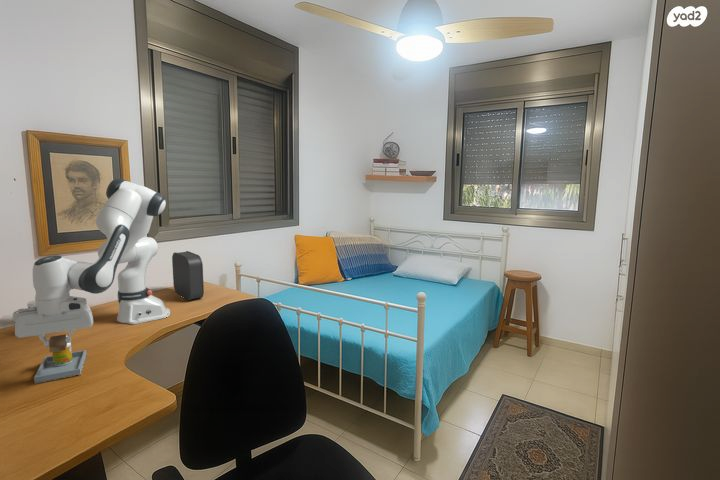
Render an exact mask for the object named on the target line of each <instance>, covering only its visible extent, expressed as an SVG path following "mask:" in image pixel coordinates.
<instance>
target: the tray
mask: <svg viewBox="0 0 720 480" xmlns="http://www.w3.org/2000/svg"><path fill="white" fill-rule="evenodd" d="M86 359H87V350H86V349H84V350H78V351H72V362H71V363H69V364H66V365H63V366H55V365H54V363H53V355H48V356H45V357H44V358H43V360H42V361H41V363H40V365H39V368H38V369H37V372H36V373H35V375H34V377H33V380H34V384H35V383H39V384H41V383H40V382H44V381H50V380H55V379H60V378H64V377H69V376H74V375H79V374H81V375H82V372H83V369H84V366H83V364H84V365H85V362H84V361H86ZM82 368H83V369H82ZM81 371H82V372H81ZM60 380H61V379H60ZM55 381H56V380H55ZM50 382H51V381H50Z"/></svg>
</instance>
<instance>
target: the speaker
mask: <svg viewBox="0 0 720 480" xmlns="http://www.w3.org/2000/svg"><path fill="white" fill-rule="evenodd" d="M171 257H172V258H171V261H172V265H171V266H172V278H173V279H172V280H173V282H172V283H173V289H174V292H175V293H177V294H176V295H178V296H179V295H180V296H179V297H181V296H182V297H184V298H185V300H186V299H187V300H186V301H188V300H189V301H191V300H196V299H202V298H203V297H204V294H205V293H204V292H205V289H204V287H205V286H204V265H203V260H202V258H201V256H200V255H199V254H196V253H194V252H191V251H187V250H186V251H181V252H173V253H172V256H171ZM182 297H181V298H182ZM184 298H183V299H184Z"/></svg>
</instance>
